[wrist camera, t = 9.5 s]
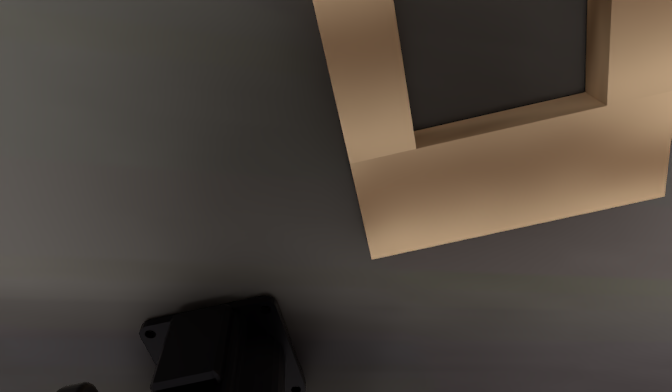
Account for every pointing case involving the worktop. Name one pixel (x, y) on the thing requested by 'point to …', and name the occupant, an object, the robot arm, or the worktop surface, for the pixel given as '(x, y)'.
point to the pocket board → (500, 132)
